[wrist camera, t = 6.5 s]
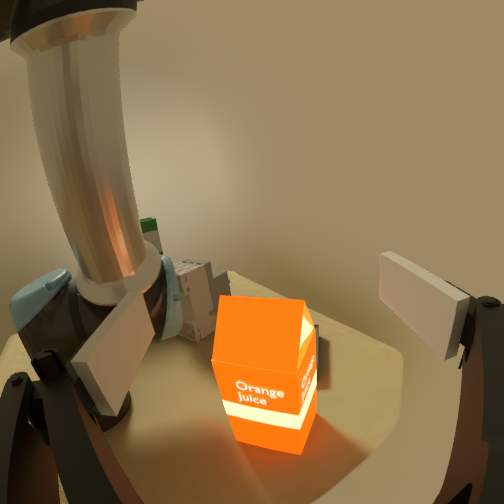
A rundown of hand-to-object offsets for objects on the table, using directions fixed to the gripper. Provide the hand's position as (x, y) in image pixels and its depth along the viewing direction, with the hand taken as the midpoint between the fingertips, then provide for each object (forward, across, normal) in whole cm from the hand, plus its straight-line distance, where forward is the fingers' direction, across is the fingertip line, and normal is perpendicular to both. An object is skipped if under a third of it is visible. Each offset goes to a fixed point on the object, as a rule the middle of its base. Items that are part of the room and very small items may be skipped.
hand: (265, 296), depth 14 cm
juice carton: (+11, 0, -25) cm, 27 cm away
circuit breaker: (+43, -12, -24) cm, 51 cm away
